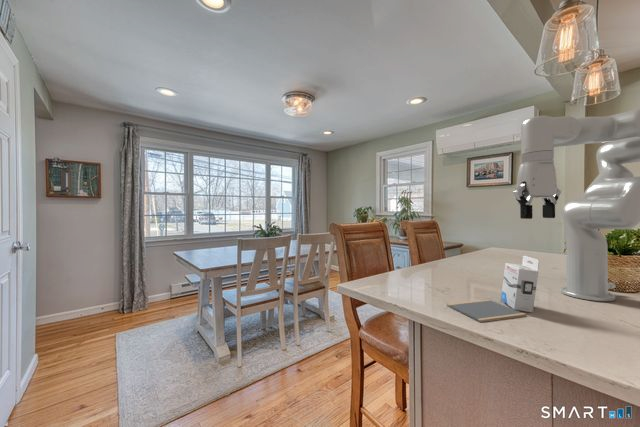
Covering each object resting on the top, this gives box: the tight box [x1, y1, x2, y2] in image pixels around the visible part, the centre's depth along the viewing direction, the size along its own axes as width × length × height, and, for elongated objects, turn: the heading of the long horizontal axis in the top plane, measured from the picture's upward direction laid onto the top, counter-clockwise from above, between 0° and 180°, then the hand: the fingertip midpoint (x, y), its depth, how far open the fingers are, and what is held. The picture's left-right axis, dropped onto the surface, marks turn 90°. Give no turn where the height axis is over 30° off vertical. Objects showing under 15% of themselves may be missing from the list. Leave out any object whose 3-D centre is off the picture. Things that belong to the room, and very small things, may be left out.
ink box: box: [500, 255, 540, 313], centre depth 78 cm, size 9×5×15 cm, turn 168°
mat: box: [446, 299, 527, 323], centre depth 76 cm, size 15×12×1 cm
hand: (537, 217), depth 80 cm, fingers open, 7 cm apart
